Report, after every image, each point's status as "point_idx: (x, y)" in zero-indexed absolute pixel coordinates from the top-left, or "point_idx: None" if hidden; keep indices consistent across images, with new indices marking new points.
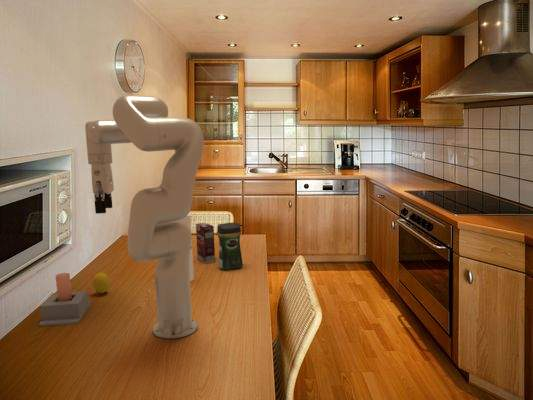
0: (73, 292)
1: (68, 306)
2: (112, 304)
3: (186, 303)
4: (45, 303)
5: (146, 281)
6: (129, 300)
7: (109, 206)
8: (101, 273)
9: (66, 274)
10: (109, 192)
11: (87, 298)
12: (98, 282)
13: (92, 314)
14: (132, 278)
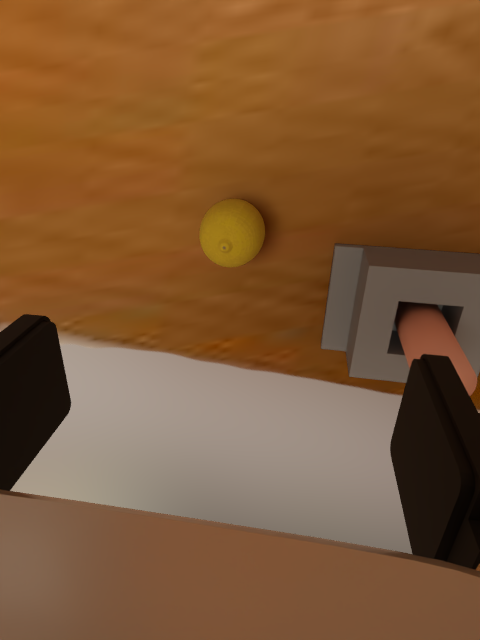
0: (368, 313)
1: None
2: (370, 161)
3: None
4: None
5: (114, 42)
6: (346, 93)
7: (48, 349)
8: (231, 240)
9: None
10: (417, 575)
11: (379, 257)
12: (262, 241)
13: (449, 221)
14: (72, 120)
